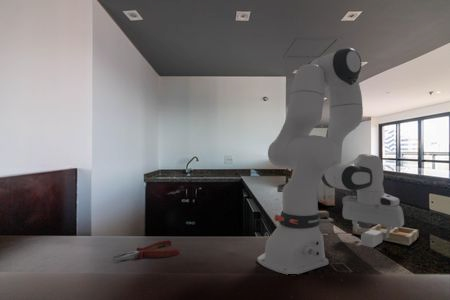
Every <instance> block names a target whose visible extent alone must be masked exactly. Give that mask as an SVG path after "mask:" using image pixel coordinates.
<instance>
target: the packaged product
mask: <svg viewBox="0 0 450 300" xmlns="http://www.w3.org/2000/svg"><path fill="white" fill-rule="evenodd" d="M318 213H319V217H320V220H319V223H334V219H333V218H331V217H330V213H329V211H327V210H318Z"/></svg>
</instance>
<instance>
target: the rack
mask: <svg viewBox="0 0 450 300" xmlns="http://www.w3.org/2000/svg"><path fill="white" fill-rule="evenodd" d="M357 224H358V226H359V227H361V232H360V233H359V232H356V229H355V226H354V225H352V234H354V235H359V236H361V234H363V233H365V232H367V231H369V230H376V231H381V232H382V239H383V241H387V242H391V243H397V244H399V245H405V246H410V245H412V244H413V243H414V242H415V241H416V240H417V238H418V237H419V229H414V228H409V227H405V226H404V227H403V226H402V227H400V228H397V227H392V229H391V231H390V232H389V238H384V237H383V232H386V231H387V230H388V229H386V226H385V225H379V224H373V223H367V222H361V221H358V223H357ZM418 239H419V238H418Z"/></svg>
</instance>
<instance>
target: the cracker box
mask: <svg viewBox="0 0 450 300" xmlns="http://www.w3.org/2000/svg"><path fill="white" fill-rule="evenodd" d="M335 189H336V188H330V187H328V186H326V185H325V184H324V183H323V181H322V179H321V181H320V184H319V188H318V203H320V204H322V205H325V206H328V207H329V206H335V205H336V204H335V203H336V195H335V194H336V191H335Z"/></svg>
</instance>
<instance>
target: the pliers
mask: <svg viewBox="0 0 450 300" xmlns="http://www.w3.org/2000/svg"><path fill="white" fill-rule="evenodd" d="M171 246H172V241H171V240H169V239H168V240H167V239H166V240H162V241H158V242H154V243H152V244H149V245H147V246H144V247H140V246H139V247H137V248H136V250H132V251H128V252H124V253H122V254H118V255H115V256H113V261H116V262H117V261H126V260H133V259H136V258H137V259H140V260H142V259H143V258H168V257H169V258H170V257H173V256H178V255H180V253H181V250H180V247H179V248H178V247H175V248H170V249H160V248H165V247H171Z"/></svg>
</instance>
